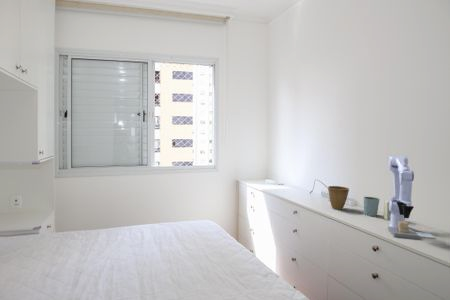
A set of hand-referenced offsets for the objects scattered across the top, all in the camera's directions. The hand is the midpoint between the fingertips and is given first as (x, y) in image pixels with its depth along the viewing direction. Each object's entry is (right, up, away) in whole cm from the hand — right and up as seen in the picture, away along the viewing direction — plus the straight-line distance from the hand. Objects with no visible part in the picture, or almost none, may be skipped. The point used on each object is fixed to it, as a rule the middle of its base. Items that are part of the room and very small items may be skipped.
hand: (404, 216), depth 179 cm
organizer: (0, -10, +1) cm, 10 cm away
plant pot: (-15, -7, +63) cm, 65 cm away
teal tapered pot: (+2, -9, +46) cm, 47 cm away
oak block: (0, -10, +1) cm, 10 cm away
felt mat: (+11, -11, 0) cm, 15 cm away
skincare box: (+10, -9, +35) cm, 37 cm away
